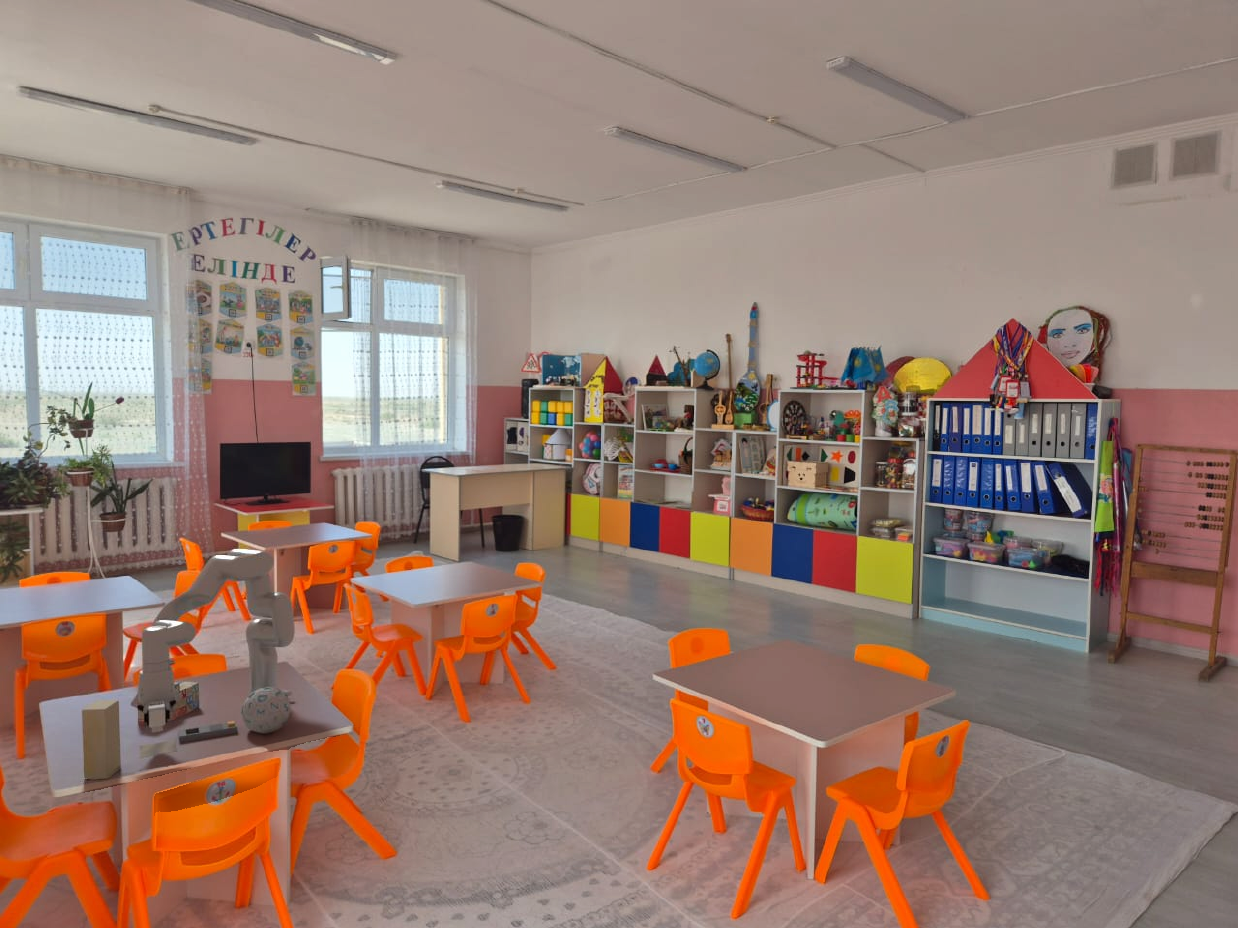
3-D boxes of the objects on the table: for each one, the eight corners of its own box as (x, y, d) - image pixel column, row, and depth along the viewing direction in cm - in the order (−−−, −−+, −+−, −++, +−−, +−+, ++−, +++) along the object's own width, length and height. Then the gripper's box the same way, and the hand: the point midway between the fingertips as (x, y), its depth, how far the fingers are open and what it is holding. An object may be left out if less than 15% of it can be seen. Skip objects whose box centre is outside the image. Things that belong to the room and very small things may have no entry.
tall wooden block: (95, 768, 249) (94, 700, 248) (121, 767, 250) (119, 699, 248) (81, 780, 241) (78, 709, 240) (107, 779, 242) (105, 709, 240)
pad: (175, 742, 268) (175, 739, 268) (176, 754, 260) (176, 750, 260) (139, 748, 263) (139, 745, 263) (140, 760, 255) (140, 757, 255)
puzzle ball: (292, 735, 275) (292, 691, 274) (242, 743, 269) (242, 698, 268) (288, 720, 289) (288, 678, 288) (241, 727, 282) (240, 684, 281)
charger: (164, 725, 264) (164, 703, 264) (165, 731, 259) (165, 709, 259) (148, 727, 262) (148, 706, 262) (149, 733, 257) (149, 711, 257)
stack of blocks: (185, 705, 302) (184, 672, 301) (199, 707, 300) (199, 674, 300) (137, 727, 281) (136, 691, 281) (152, 729, 280) (151, 693, 279)
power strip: (235, 729, 280) (234, 718, 280) (237, 735, 275) (236, 724, 275) (178, 739, 271) (178, 727, 271) (179, 745, 266) (179, 734, 266)
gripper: (185, 659, 267) (186, 714, 268) (125, 666, 259) (126, 723, 260) (187, 665, 261) (187, 722, 262) (124, 673, 252) (125, 731, 253)
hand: (157, 722), depth 261 cm, fingers closed on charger, 4 cm apart
